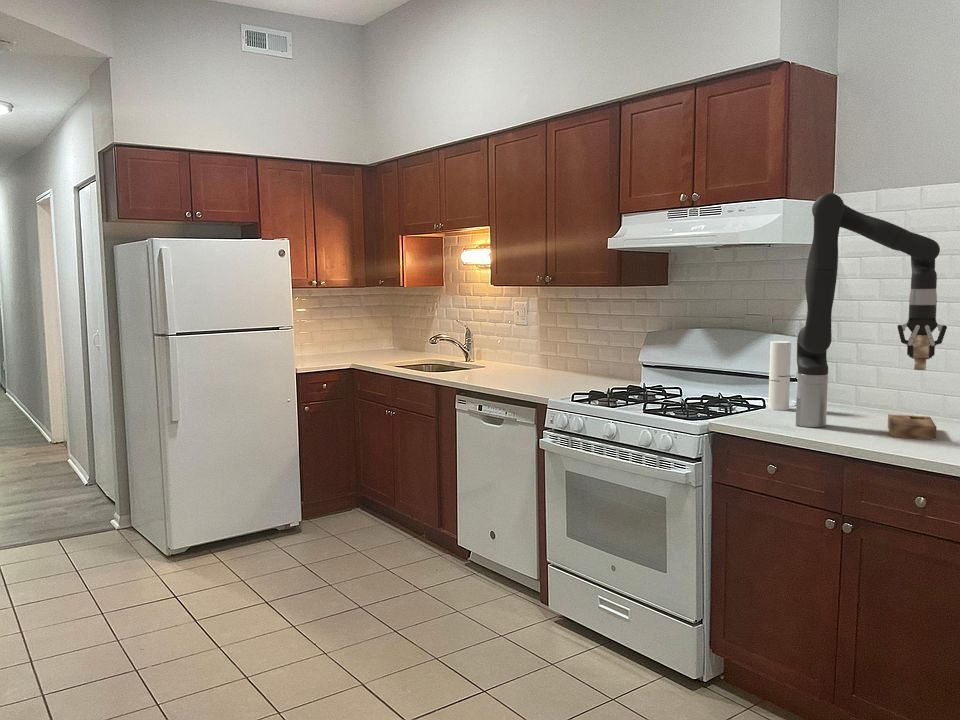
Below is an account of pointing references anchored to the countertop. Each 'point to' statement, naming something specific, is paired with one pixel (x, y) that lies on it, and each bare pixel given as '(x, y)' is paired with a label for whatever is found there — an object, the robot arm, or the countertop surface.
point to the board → (911, 426)
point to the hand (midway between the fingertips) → (920, 357)
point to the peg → (920, 351)
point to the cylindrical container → (779, 375)
